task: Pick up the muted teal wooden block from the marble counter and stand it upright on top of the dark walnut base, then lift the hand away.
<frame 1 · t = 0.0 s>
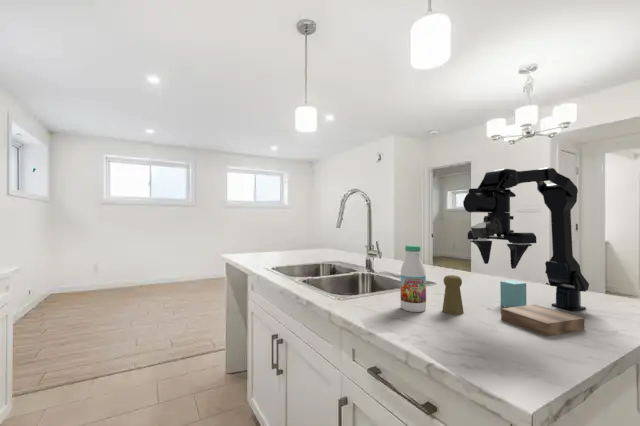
hand: (499, 265, 89), 15 cm above the countertop, fingers open, 9 cm apart
cork: (452, 312, 94), on the countertop
teal block: (513, 307, 99), on the countertop
milk bottle: (413, 309, 97), on the countertop
walnut base: (540, 324, 83), on the countertop
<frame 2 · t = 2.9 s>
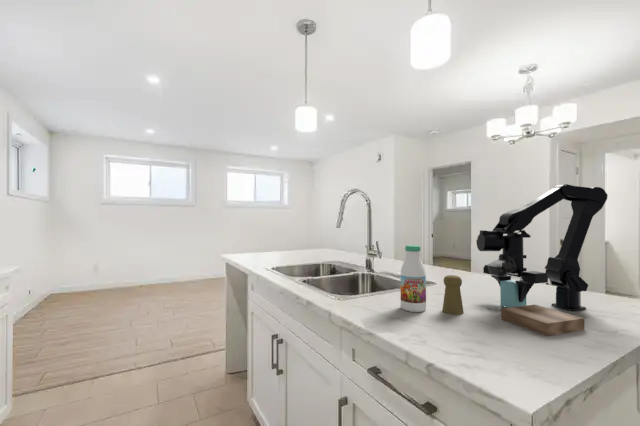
hand: (513, 299, 99), 2 cm above the countertop, fingers closed on teal block, 5 cm apart
teal block: (513, 306, 99), on the countertop, touching gripper
everything else where it was.
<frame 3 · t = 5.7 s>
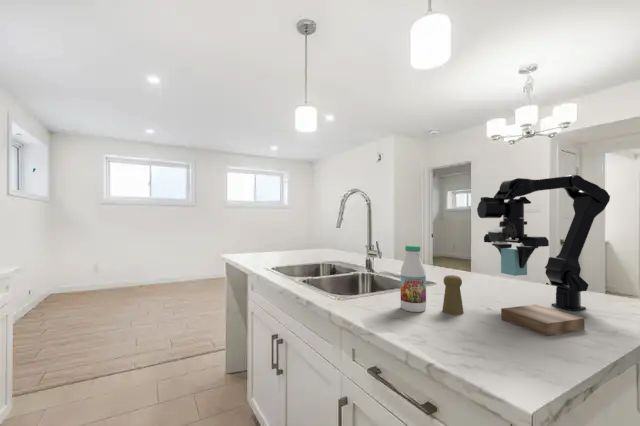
hand: (513, 266, 98), 13 cm above the countertop, fingers closed on teal block, 5 cm apart
teal block: (513, 273, 98), point 11 cm above the countertop, touching gripper
everything else where it was.
when the fingers open (7 cm above the countertop, at t = 8.7 s): teal block drops 2 cm, resting on walnut base.
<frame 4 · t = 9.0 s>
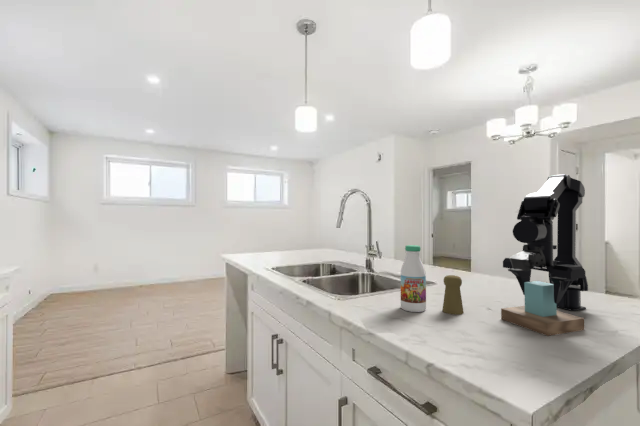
hand: (540, 299, 83), 7 cm above the countertop, fingers open, 8 cm apart
teal block: (540, 313, 83), point 3 cm above the countertop, touching walnut base
everything else where it was.
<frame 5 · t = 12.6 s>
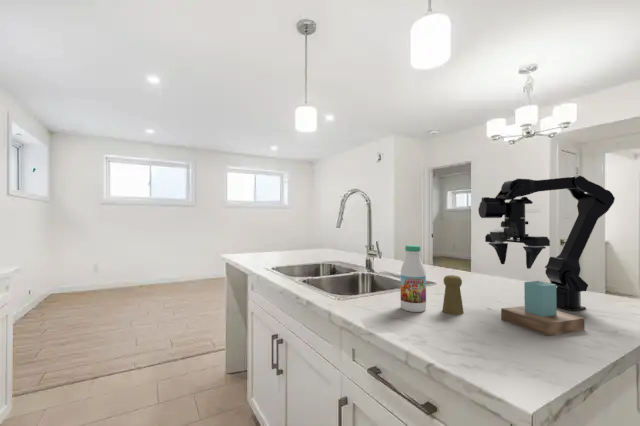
hand: (515, 266, 99), 13 cm above the countertop, fingers open, 9 cm apart
nothing on the countertop moved.
at the end: teal block inside the target area on the walnut base (0.0 cm from its centre), point 3.0 cm above the walnut base's base; teal block tilted 0°; the gripper is holding nothing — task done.
